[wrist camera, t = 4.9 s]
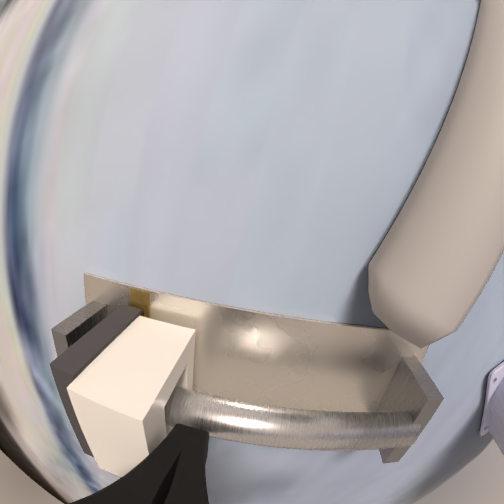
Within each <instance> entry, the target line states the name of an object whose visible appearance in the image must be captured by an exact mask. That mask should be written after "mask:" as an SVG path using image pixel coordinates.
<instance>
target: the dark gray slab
mask: <svg viewBox="0 0 504 504" xmlns="http://www.w3.org/2000/svg"><path fill="white" fill-rule="evenodd" d="M139 316H142V310H141V309H138V308H134V307H130V306H127V305H123V304H122V305H121V306H120V307H118V308H117V309H116V310H115V311H113V312H112V313H111V314H110V315H108V316H107V317H106V318H105V319H103V320H102V321H101V322H100V323H98V324H97V325H96V326H95V327H93V328H92V329H91V330H90V331H88V332H87V333H86V334H85V335H84V336H82V337H81V338H80V339H79V340H78V341H76V342H75V343H74V344H73V345H72V346H70V347H69V348H68V349H67V350H66V351H64V352H63V353H62V354H61V355H60V356H58V357H57V358H56V359H55V360H54V361H53V362H51V363H50V366H51V370H52V373H53V376H54V380H55V383H56V386H57V389H58V392H59V394H60V397H61V400H62V403H63V405H64V408H65V411H66V413H67V416H68V418H69V420H70V423H71V425H72V427H73V430H74V432H75V434H76V436H77V439H78V441H79V443H80V445H81V447H82V449H83V451H84V453H86V454H88V455H90V456H92V457H94V456H93V454H92V452H91V449H90V447H89V445H88V443H87V441H86V438H85V436H84V434H83V431H82V429H81V427H80V424H79V422H78V419H77V416H76V414H75V411H74V408H73V406H72V403H71V400H70V397H69V394H68V391H67V387H68V386H69V385H70V384H71V383H72V382H73V381H74V380H75V379H76V378H77V377H78V376H79V375H80V374H81V373H82V372H83V371H84V370H85V368H86V367H87V366H88V365H89V364H90V363H91V362H92V361H93V360H94V359H95V358H96V357H98V356H99V355H100V354H101V353H102V352H103V351H104V350H105V349H106V348H107V347H108V346H109V345H110V344H111V343H112V342H113V341H114V340H115V339H116V338H117V337H118V336H119V335H120V334H121V333H122V332H123V331H124V330H125V329H126V328H127V327H128V326H129V325H130V324H131V323H132V322H133V321H134V320H135V319H136V318H138V317H139Z"/></svg>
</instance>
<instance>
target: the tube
mask: <svg viewBox="0 0 504 504" xmlns="http://www.w3.org/2000/svg"><path fill="white" fill-rule="evenodd" d="M503 251H504V0H481V4H480V9H479V14H478V19H477V23H476V28H475V32H474V36H473V40H472V43H471V47H470V51H469V54H468V57H467V61H466V64H465V67H464V70H463V73H462V76H461V79H460V82H459V85H458V88H457V91H456V93H455V96H454V99H453V101H452V104H451V107H450V109H449V112H448V114H447V117H446V119H445V122H444V124H443V126H442V129H441V131H440V133H439V136H438V138H437V140H436V142H435V145H434V147H433V149H432V151H431V153H430V155H429V157H428V159H427V162H426V164H425V166H424V168H423V170H422V172H421V174H420V176H419V178H418V180H417V182H416V184H415V185H414V187H413V189H412V191H411V193H410V195H409V197H408V199H407V200H406V202H405V204H404V206H403V208H402V210H401V211H400V213H399V215H398V217H397V218H396V220H395V222H394V224H393V225H392V227H391V229H390V230H389V232H388V234H387V235H386V237H385V239H384V240H383V242H382V244H381V245H380V247H379V248H378V250H377V252H376V253H375V255H374V256H373V258H372V260H371V261H370V263H369V274H368V293H369V298H370V302H371V307H372V311H373V313H374V314H375V315H376V316H377V317H378V318H379V319H380V320H381V321H382V322H383V323H384V324H385V325H386V326H387V327H388V328H389V330H390V331H392V332H393V333H395V334H397V335H398V336H400V337H402V338H404V339H405V340H407V341H409V342H410V343H412V344H414V345H415V346H417V347H419V348H423V347H425V346H427V345H430V344H432V343H434V342H436V341H438V340H440V339H442V338H444V337H446V336H447V335H449V334H451V333H453V332H455V331H457V329H458V328H459V326H460V325H461V323H462V322H463V321H464V319H465V318H466V316H467V315H468V313H469V311H470V310H471V308H472V307H473V305H474V304H475V302H476V300H477V299H478V297H479V296H480V294H481V292H482V290H483V289H484V287H485V285H486V284H487V282H488V280H489V278H490V276H491V274H492V273H493V271H494V269H495V267H496V265H497V263H498V261H499V259H500V257H501V255H502V253H503Z"/></svg>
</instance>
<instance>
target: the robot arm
mask: <svg viewBox="0 0 504 504" xmlns="http://www.w3.org/2000/svg"><path fill="white" fill-rule="evenodd" d="M488 432H490V434H491V436H492V437H493V439H494V440H495V442H496V444H497V445H498V447H499V448H500V450H501V452H502V454H503V455H504V361H503V362H502V363H501V364H500V365H498V366H497V367H496V368H495V369H493V370H492V371H491V372H490V374H489V376H488V383H487V392H486V399H485V406H484V412H483V418H482V423H481V428H480V433H479V434H480V436H484V435H485V434H487V433H488ZM208 441H209V432H208V431H207V430H203V429H198V428H194V427H190V426H187V425H183V424H179V423H178V424H176V425H175V426H174V427H173V429H172V430H171V431H170V433H169V434H168V435H167V436H166V437H165V439H164V440H163V441H162V442H161V443H160V444H159V445H158V446H157V447H156V448H155V449H154V450H153V451H152V452H151V453H150V454H149V455H148V456H147V457H146V458H145V459H144V460H143V461H142V462H140V463H139V464H138V465H137V466H136V467H134V468H133V469H132V470H131V471H130V472H128V473H127V474H126V475H124V476H123V477H121V478H120V479H118V480H117V481H115V482H114V483H112V484H111V485H109V486H107V487H105V488H103V489H102V490H100V491H98V492H96V493H94V494H92V495H90V496H87V497H85V498H82V499H80V500H77V501H75V502H72V503H69V504H209V502H208V495H207V488H206V477H205V464H206V459H207V453H208Z"/></svg>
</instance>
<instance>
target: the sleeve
mask: <svg viewBox="0 0 504 504" xmlns="http://www.w3.org/2000/svg"><path fill="white" fill-rule="evenodd" d="M195 333H196V330H195V329H191V328H186V327H182V326H178V325H174V324H170V323H166V322H162V321H158V320H154V319H150V318H147V317H143V316H139V317H138V318H136V319H135V320H134V321H133V322H132V323H131V324H130V325H129V326H128V327H127V328H126V329H125V330H124V331H123V332H122V333H121V334H120V335H119V336H118V337H117V338H116V339H115V340H114V341H113V342H112V343H111V344H110V345H109V346H108V347H107V348H106V349H105V350H104V351H103V352H102V353H101V354H100V355H99V356H98V357H96V358H95V359H94V360H93V361H92V362H91V363H90V364H89V365H88V366H87V367H86V368H85V370H84V371H83V372H82V373H81V374H80V375H79V376H78V377H77V378H76V379H75V380H74V381H73V382H72V383H71V384H70V385H69V386H68V387H67V391H68V394H69V397H70V400H71V403H72V406H73V408H74V411H75V414H76V416H77V419H78V422H79V424H80V427H81V429H82V431H83V434H84V436H85V438H86V441H87V443H88V445H89V447H90V449H91V452H92V454H93V456H94V458H95V460H96V462H97V464H98V466H99V467H100V468H102V469H104V470H106V471H108V472H110V473H113V474H115V475H117V476H119V477H123V476H124V475H126V474H127V473H128V472H130V471H131V470H132V469H133V468H134V467H136V466H137V465H138V464H139V463H140V462H142V461H143V460H144V459H145V458H146V457H147V456H148V455H149V454H150V453H151V452H152V451H153V450H154V449H155V448H156V447H157V446H158V445H159V444H160V443H161V442H162V441H163V440H164V439H165V437H166V436H167V435H168V434H169V433H170V431H171V430H172V429H173V427H171V426H168V425H166V422H165V409H164V407H165V405H166V403H167V401H168V399H169V397H170V395H171V394H172V392H173V390H174V388H175V386H179V387H182V388H186V389H190V390H193V367H194V348H195Z"/></svg>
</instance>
